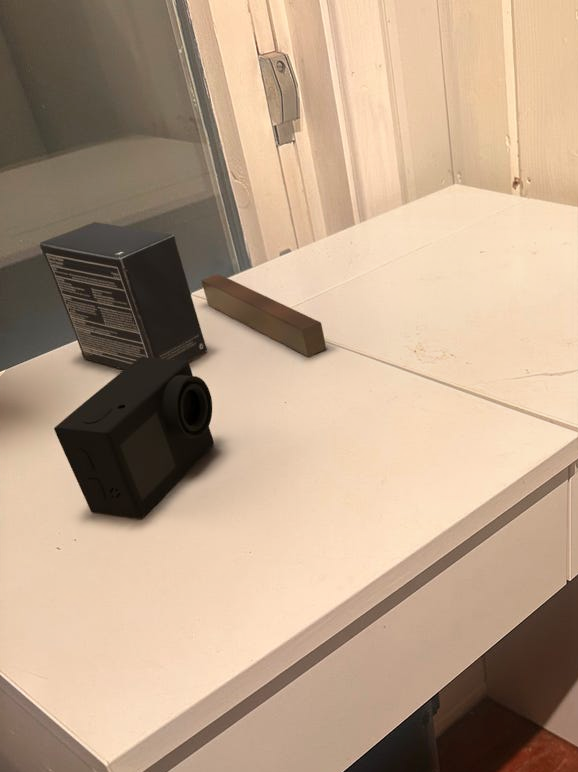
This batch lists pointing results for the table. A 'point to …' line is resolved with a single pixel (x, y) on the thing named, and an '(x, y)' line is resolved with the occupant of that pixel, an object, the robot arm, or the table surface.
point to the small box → (125, 294)
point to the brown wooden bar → (265, 315)
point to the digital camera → (138, 436)
